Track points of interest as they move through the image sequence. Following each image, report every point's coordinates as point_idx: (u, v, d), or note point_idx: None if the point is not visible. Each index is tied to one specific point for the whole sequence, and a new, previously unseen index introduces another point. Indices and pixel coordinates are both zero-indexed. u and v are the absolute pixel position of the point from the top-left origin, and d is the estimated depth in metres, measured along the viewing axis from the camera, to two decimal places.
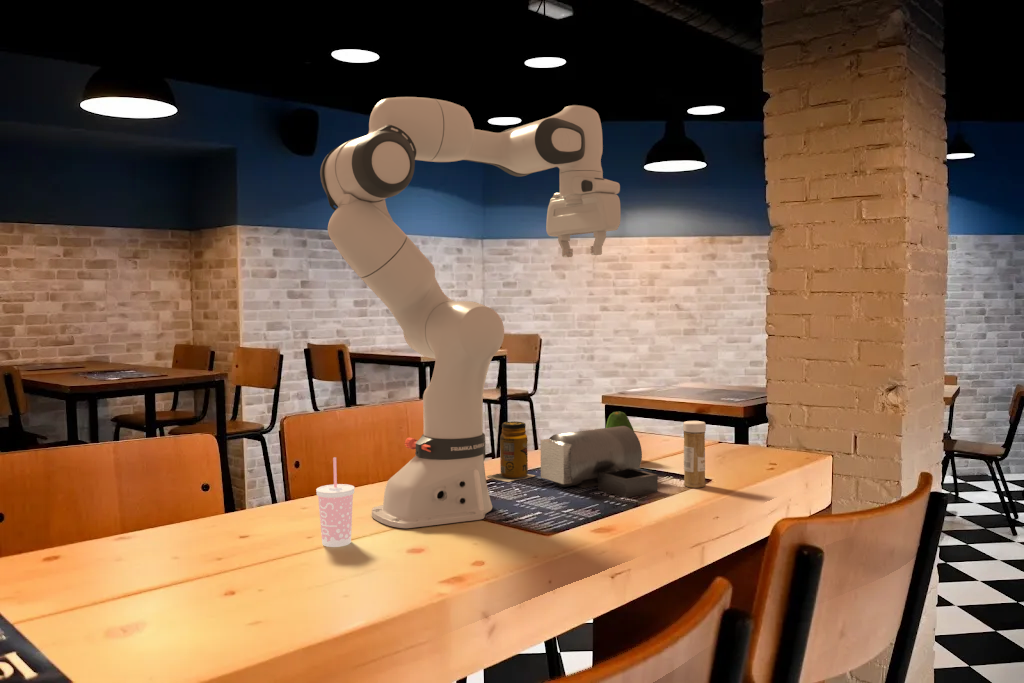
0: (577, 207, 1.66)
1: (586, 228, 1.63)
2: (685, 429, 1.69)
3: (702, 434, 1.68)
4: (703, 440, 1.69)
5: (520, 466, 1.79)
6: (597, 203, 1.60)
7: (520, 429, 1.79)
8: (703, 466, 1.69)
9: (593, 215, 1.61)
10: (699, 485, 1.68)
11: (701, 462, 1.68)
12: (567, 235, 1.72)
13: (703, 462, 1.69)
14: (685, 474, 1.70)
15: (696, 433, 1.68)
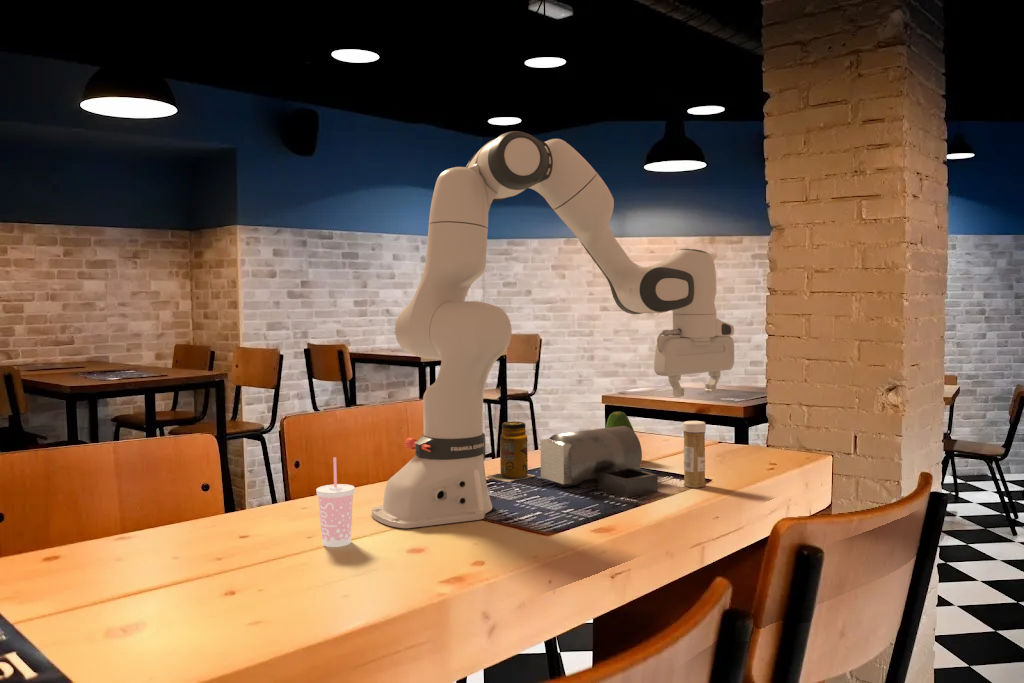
0: (702, 347, 1.68)
1: (714, 368, 1.70)
2: (685, 429, 1.69)
3: (702, 434, 1.68)
4: (703, 440, 1.69)
5: (520, 466, 1.79)
6: (726, 345, 1.71)
7: (520, 429, 1.79)
8: (703, 466, 1.69)
9: (722, 356, 1.71)
10: (699, 485, 1.68)
11: (701, 462, 1.68)
12: None
13: (703, 462, 1.69)
14: (685, 474, 1.70)
15: (696, 433, 1.68)
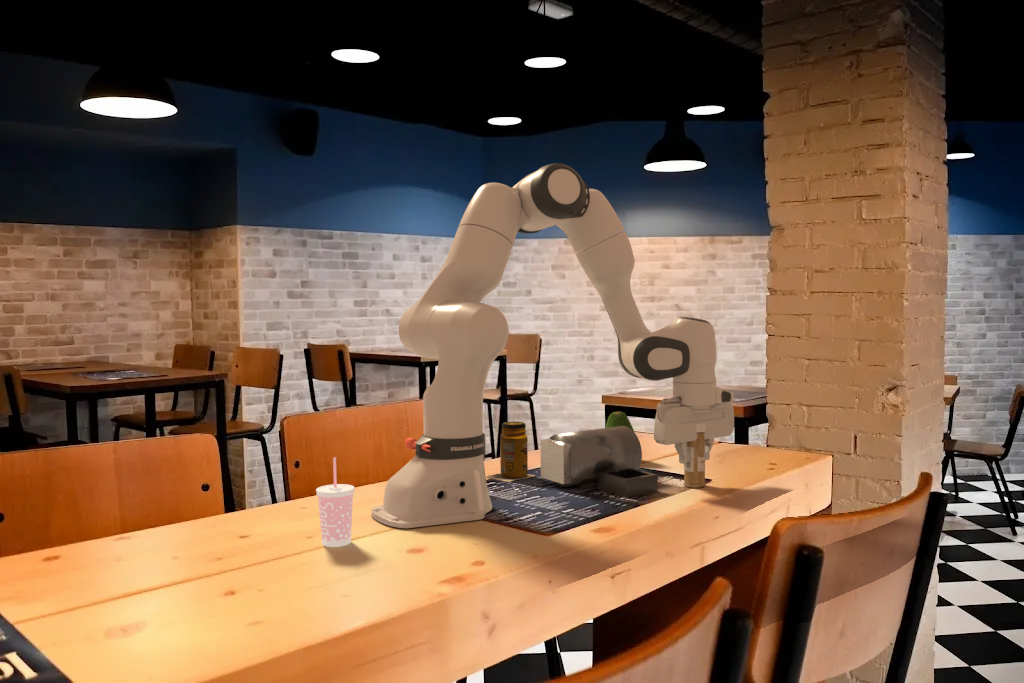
0: (702, 415, 1.69)
1: (713, 435, 1.70)
2: None
3: (702, 434, 1.68)
4: (703, 440, 1.69)
5: (520, 466, 1.79)
6: (726, 412, 1.72)
7: (520, 429, 1.79)
8: (703, 466, 1.69)
9: (721, 423, 1.72)
10: (699, 485, 1.68)
11: (701, 462, 1.68)
12: None
13: (703, 462, 1.69)
14: (685, 474, 1.70)
15: None
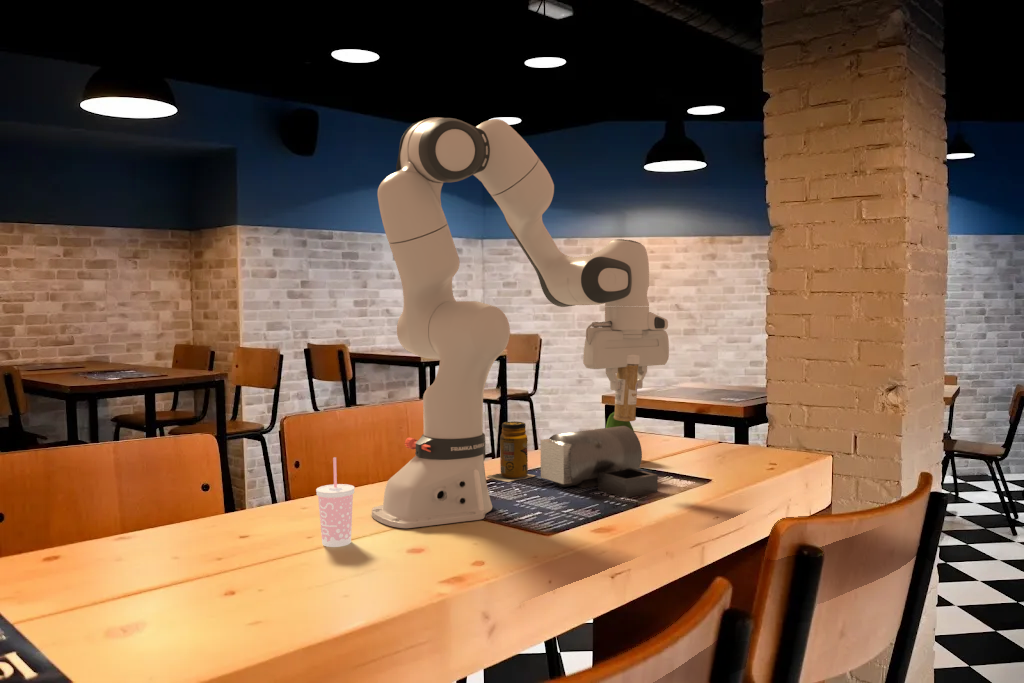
0: (634, 341, 1.64)
1: (646, 363, 1.66)
2: None
3: (635, 366, 1.64)
4: (636, 373, 1.64)
5: (520, 466, 1.79)
6: (660, 339, 1.68)
7: (520, 429, 1.79)
8: (634, 399, 1.64)
9: (655, 350, 1.67)
10: (629, 418, 1.64)
11: (632, 395, 1.64)
12: None
13: (634, 395, 1.64)
14: (615, 407, 1.65)
15: (629, 364, 1.63)
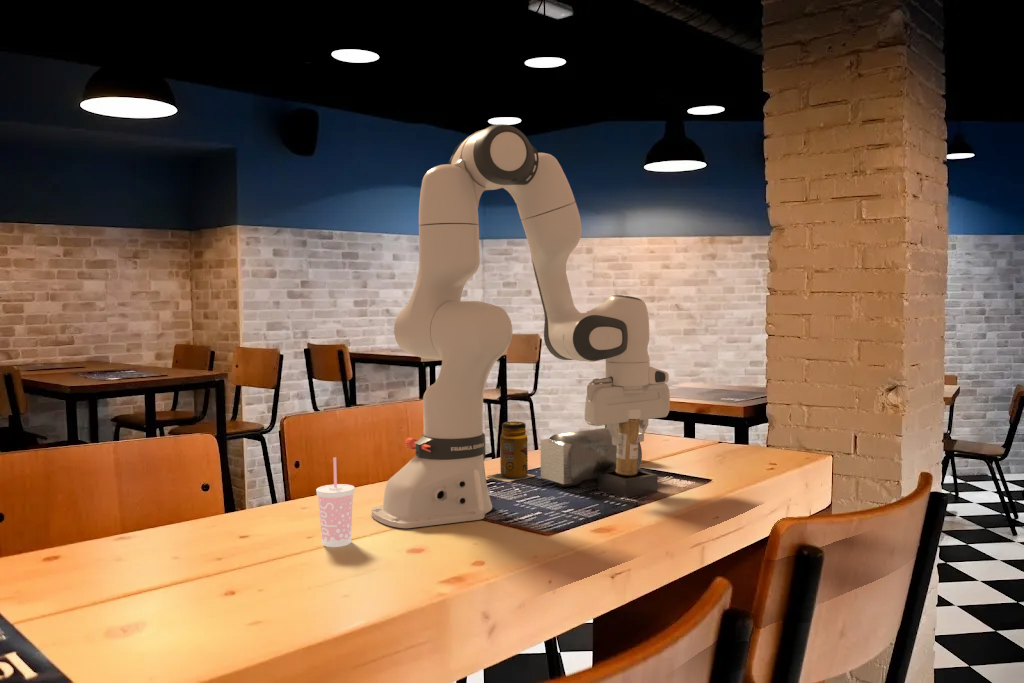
0: (635, 395, 1.65)
1: (648, 416, 1.67)
2: None
3: (636, 421, 1.64)
4: (637, 427, 1.65)
5: (520, 466, 1.79)
6: (661, 392, 1.68)
7: (521, 429, 1.79)
8: (635, 454, 1.65)
9: (656, 404, 1.68)
10: (630, 473, 1.64)
11: (633, 450, 1.64)
12: None
13: (636, 450, 1.65)
14: (617, 461, 1.66)
15: (630, 419, 1.64)
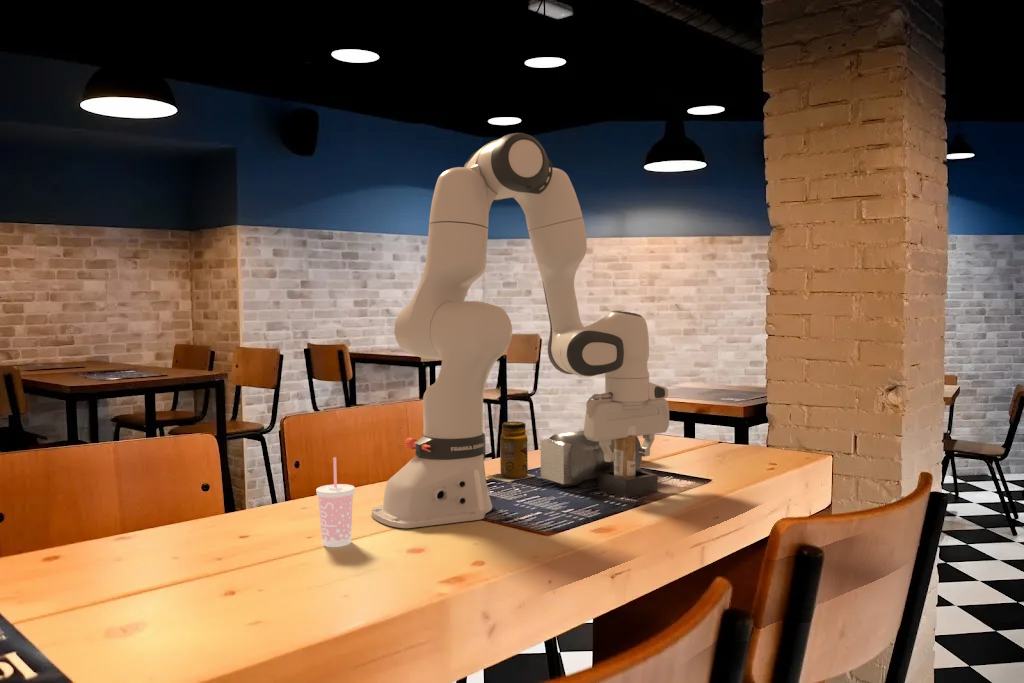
0: (634, 411, 1.65)
1: (647, 432, 1.67)
2: None
3: (632, 437, 1.64)
4: (633, 444, 1.65)
5: (520, 466, 1.79)
6: (660, 408, 1.68)
7: (520, 429, 1.79)
8: (633, 470, 1.65)
9: (655, 419, 1.68)
10: None
11: (631, 466, 1.64)
12: None
13: (633, 466, 1.65)
14: None
15: None
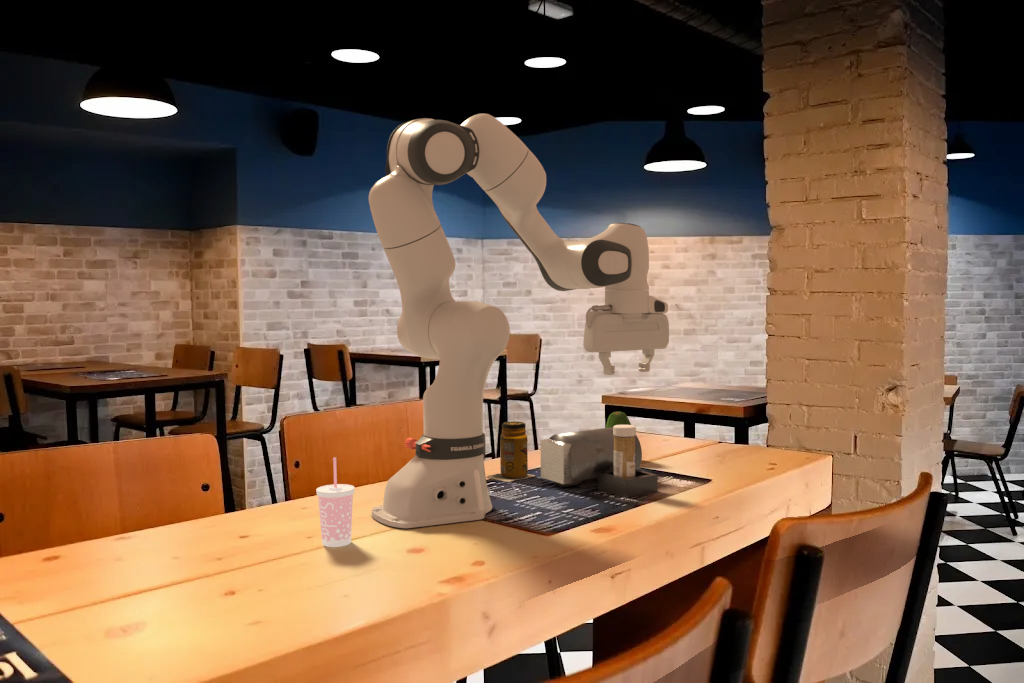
0: (634, 324, 1.64)
1: (647, 346, 1.66)
2: (614, 433, 1.65)
3: (631, 438, 1.64)
4: (633, 444, 1.64)
5: (520, 466, 1.79)
6: (660, 323, 1.68)
7: (520, 429, 1.79)
8: (632, 471, 1.64)
9: (655, 334, 1.67)
10: None
11: (630, 467, 1.64)
12: None
13: (632, 467, 1.64)
14: None
15: (625, 437, 1.64)
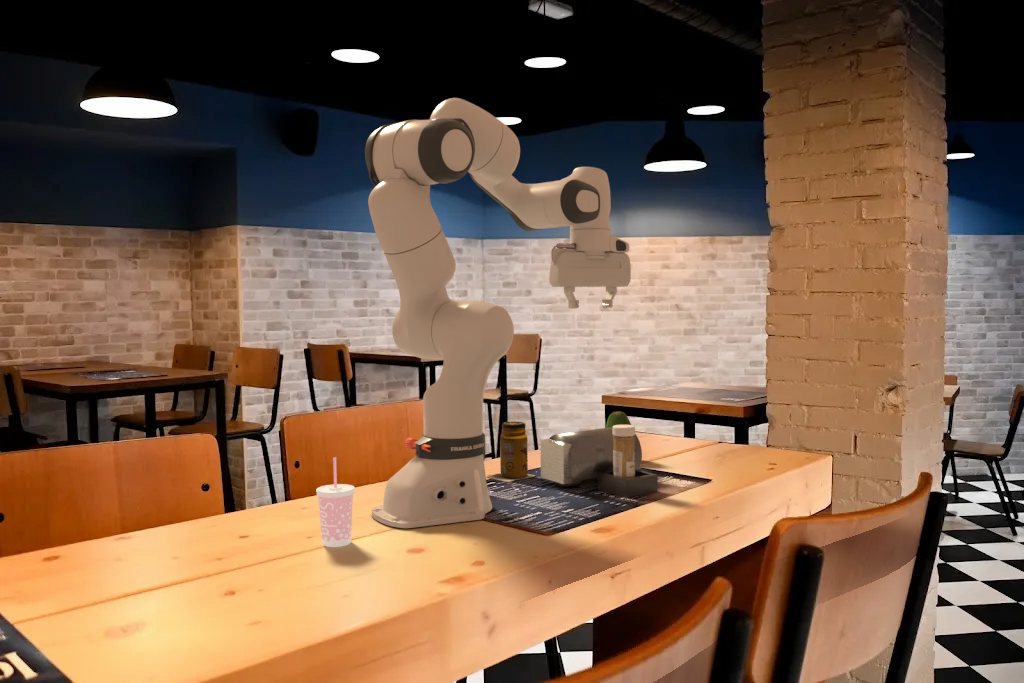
0: (597, 262, 1.76)
1: (609, 283, 1.78)
2: (614, 433, 1.65)
3: (631, 438, 1.64)
4: (632, 444, 1.64)
5: (520, 466, 1.79)
6: (622, 262, 1.80)
7: (520, 429, 1.79)
8: (632, 471, 1.65)
9: (617, 272, 1.79)
10: None
11: (630, 467, 1.64)
12: None
13: (632, 467, 1.64)
14: None
15: (624, 437, 1.64)
